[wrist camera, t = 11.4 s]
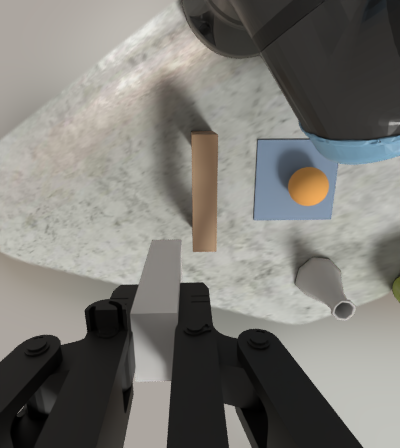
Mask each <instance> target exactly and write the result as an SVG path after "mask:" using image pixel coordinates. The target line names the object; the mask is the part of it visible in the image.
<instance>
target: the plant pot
mask: <svg viewBox="0 0 400 448" xmlns="http://www.w3.org/2000/svg"><path fill="white" fill-rule="evenodd" d="M392 291H393V294H394V296H395V297H396V299H397V300H398V301H399V303H400V277H398V278H397V279H396V280H395V281H394V283H393V287H392Z"/></svg>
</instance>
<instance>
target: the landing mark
mask: <svg viewBox="0 0 400 448" xmlns="http://www.w3.org/2000/svg"><path fill="white" fill-rule="evenodd" d="M305 167H314V168H317V169H319V170H321V171H322V172H323V173H324V174H325V175H326V177H327V179H328V182H329V190H328V193H327V195H326V197H325V198H324V199H323V200H322V201H321V202H320V203H318V204H316V205H312V206H303V205H300V204H298V203H296V202H295V201H294V200H293V199H292V198H291V196H290V194H289V191H288V183H289V180H290V178H291V176H292V175H293V174H294V173H295V172H296V171H297V170H299V169H301V168H305ZM337 168H338V163H336V162H332V161H330V160H328V159H326V158H325V157H324V156H322V155H321V154H320V153H319V152H318V150H317V149H316V147H315V146H314V144H313V143H312V141H311V140H258V145H257V165H256V185H255V205H254V220H318V219H331V215H332V208H333V200H334V192H335V184H336V176H337Z"/></svg>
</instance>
